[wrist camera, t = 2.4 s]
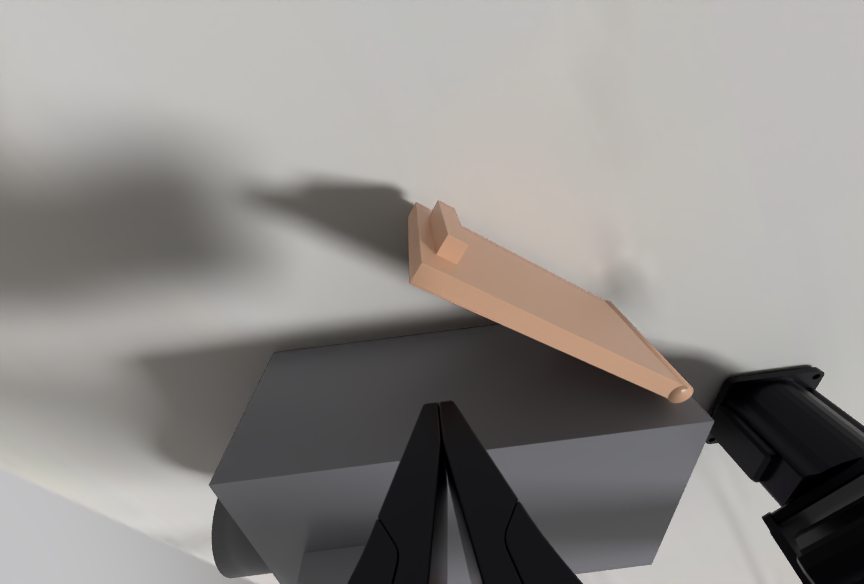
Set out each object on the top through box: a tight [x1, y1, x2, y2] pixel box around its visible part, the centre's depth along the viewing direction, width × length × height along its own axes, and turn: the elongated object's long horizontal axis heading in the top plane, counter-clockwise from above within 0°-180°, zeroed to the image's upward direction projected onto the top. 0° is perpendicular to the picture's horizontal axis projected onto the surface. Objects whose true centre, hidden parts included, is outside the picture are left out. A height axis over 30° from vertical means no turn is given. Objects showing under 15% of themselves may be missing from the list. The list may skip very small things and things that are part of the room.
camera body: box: [209, 324, 714, 584], centre depth 20 cm, size 23×12×10 cm, turn 96°
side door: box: [408, 200, 694, 403], centre depth 15 cm, size 12×2×6 cm, turn 61°
